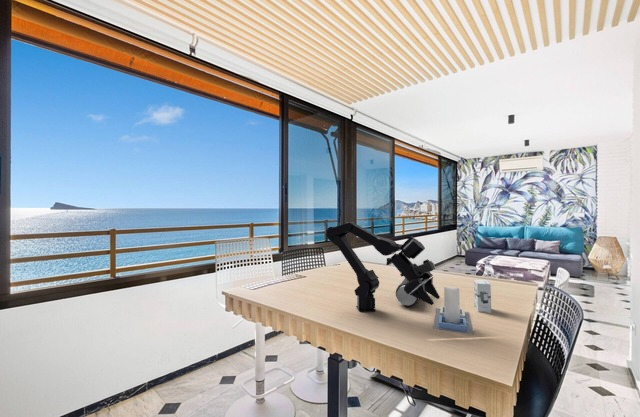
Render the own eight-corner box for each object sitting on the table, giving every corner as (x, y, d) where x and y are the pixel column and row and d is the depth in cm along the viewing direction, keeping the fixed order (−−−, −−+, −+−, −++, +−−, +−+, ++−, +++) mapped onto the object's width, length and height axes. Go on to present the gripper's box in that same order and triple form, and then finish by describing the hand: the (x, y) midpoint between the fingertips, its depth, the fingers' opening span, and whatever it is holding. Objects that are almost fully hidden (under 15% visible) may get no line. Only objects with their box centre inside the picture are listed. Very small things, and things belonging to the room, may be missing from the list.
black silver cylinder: (424, 294, 141) (423, 273, 142) (418, 310, 116) (418, 285, 116) (404, 292, 145) (404, 272, 146) (394, 307, 120) (394, 283, 120)
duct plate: (473, 336, 90) (473, 329, 91) (432, 329, 95) (432, 323, 96) (469, 313, 112) (469, 308, 112) (436, 309, 117) (436, 304, 117)
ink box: (474, 306, 121) (473, 278, 121) (487, 308, 119) (486, 279, 119) (477, 313, 113) (476, 283, 113) (491, 314, 111) (491, 284, 111)
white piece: (446, 326, 97) (445, 289, 98) (443, 321, 102) (443, 286, 102) (461, 328, 96) (460, 290, 96) (458, 323, 100) (457, 287, 101)
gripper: (413, 255, 98) (447, 293, 91) (427, 250, 113) (457, 282, 107) (390, 275, 102) (422, 313, 96) (407, 268, 117) (435, 300, 111)
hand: (436, 301), depth 102 cm, fingers open, 9 cm apart
